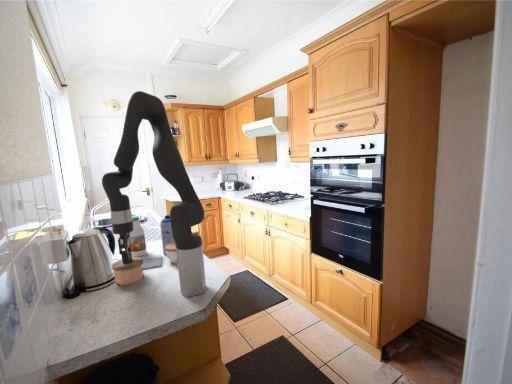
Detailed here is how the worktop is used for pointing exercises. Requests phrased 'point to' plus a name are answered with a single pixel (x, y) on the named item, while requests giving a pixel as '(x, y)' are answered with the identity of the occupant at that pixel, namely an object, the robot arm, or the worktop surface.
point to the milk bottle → (137, 239)
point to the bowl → (129, 275)
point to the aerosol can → (166, 232)
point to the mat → (152, 263)
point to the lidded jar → (171, 252)
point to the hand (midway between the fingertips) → (127, 258)
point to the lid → (131, 264)
